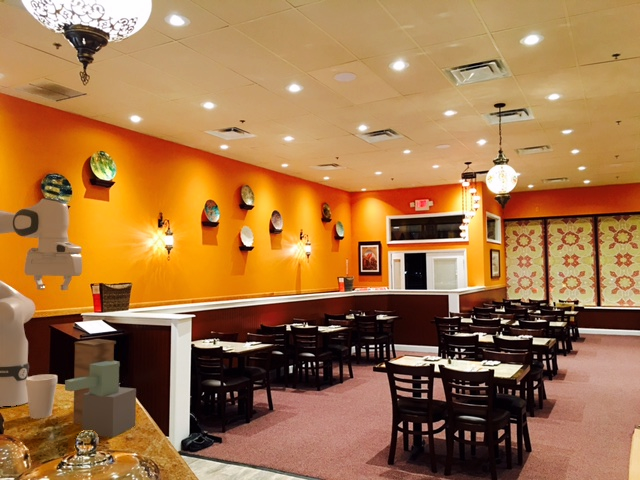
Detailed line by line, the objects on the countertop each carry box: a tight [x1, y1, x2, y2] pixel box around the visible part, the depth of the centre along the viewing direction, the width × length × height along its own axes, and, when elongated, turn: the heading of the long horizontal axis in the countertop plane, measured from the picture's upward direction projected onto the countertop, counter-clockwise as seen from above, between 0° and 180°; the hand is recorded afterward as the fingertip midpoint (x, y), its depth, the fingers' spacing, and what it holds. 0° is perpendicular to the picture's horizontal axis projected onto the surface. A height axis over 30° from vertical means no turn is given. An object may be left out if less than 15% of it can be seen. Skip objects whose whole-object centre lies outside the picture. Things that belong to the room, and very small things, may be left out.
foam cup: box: [26, 373, 58, 420], centre depth 179 cm, size 10×9×13 cm
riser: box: [81, 386, 137, 439], centre depth 165 cm, size 11×11×12 cm
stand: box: [72, 338, 117, 426], centre depth 174 cm, size 9×10×26 cm
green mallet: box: [64, 360, 121, 396], centre depth 160 cm, size 17×6×9 cm, turn 148°
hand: (52, 289), depth 173 cm, fingers open, 8 cm apart
